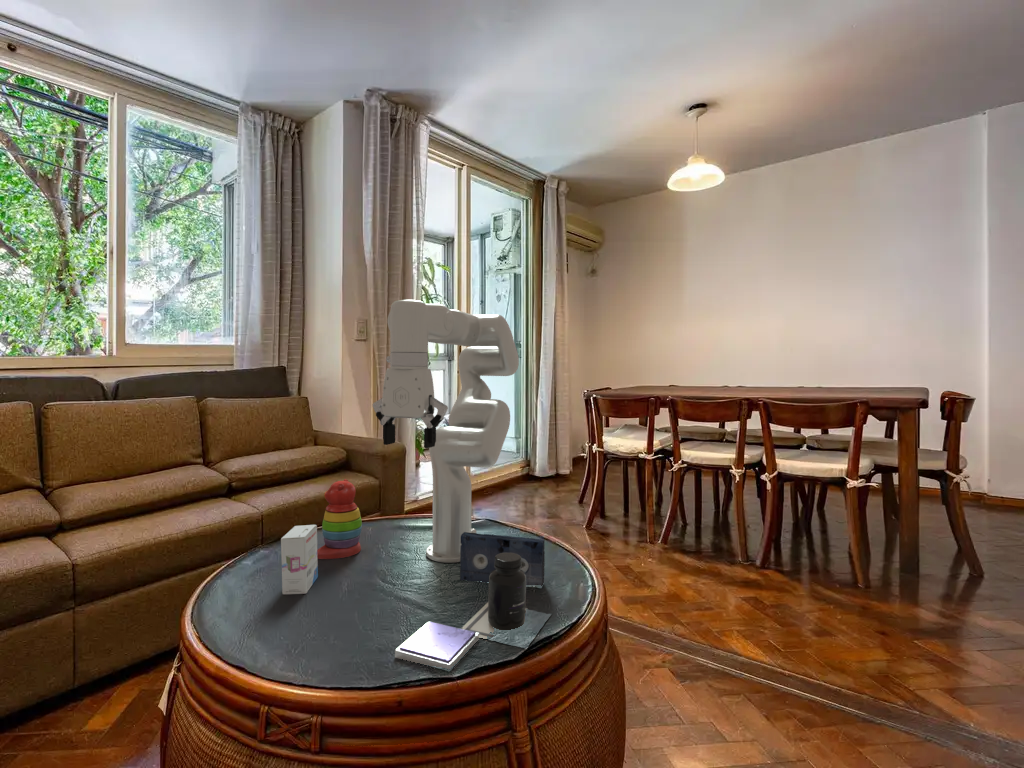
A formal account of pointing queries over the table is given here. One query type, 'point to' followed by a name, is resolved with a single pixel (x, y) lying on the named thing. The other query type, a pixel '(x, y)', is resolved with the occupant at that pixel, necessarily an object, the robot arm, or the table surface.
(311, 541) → the ink box
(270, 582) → the table surface
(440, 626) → the ink pad
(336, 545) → the stacking bear
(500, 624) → the supplement bottle
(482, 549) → the vhs cassette tape
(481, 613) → the marked card
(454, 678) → the table surface
